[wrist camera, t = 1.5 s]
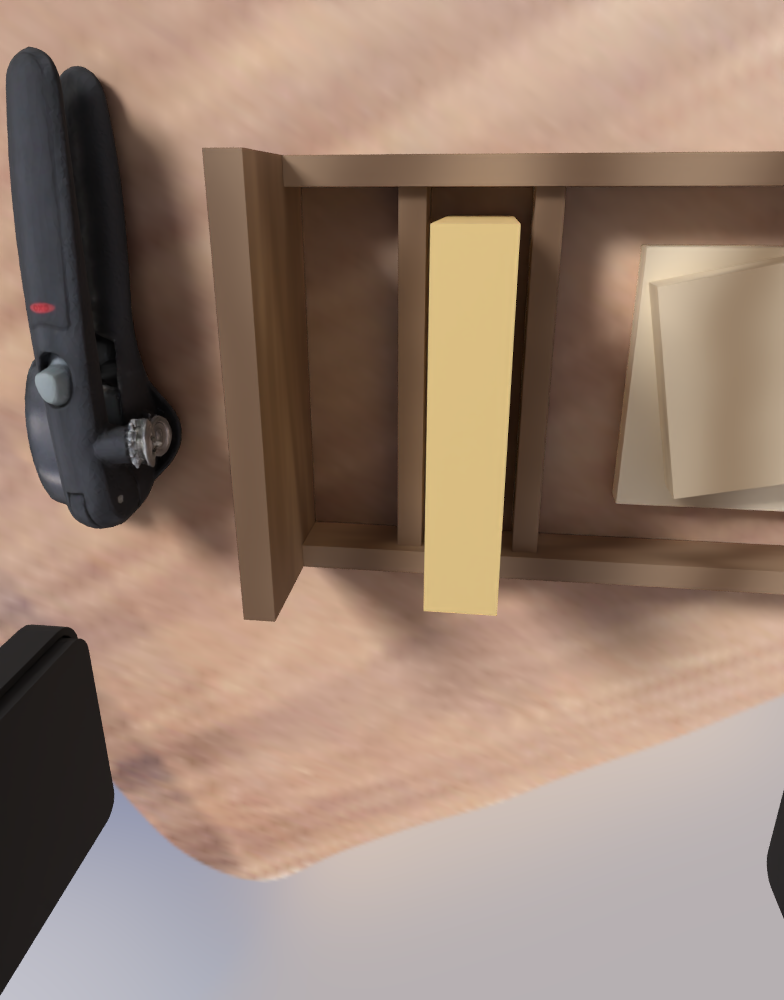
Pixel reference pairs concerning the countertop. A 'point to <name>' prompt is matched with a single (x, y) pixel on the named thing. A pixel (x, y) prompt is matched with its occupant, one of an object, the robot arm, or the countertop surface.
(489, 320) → the panel
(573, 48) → the countertop surface
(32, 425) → the can opener
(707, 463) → the offcut upper
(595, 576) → the rack
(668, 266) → the offcut lower
